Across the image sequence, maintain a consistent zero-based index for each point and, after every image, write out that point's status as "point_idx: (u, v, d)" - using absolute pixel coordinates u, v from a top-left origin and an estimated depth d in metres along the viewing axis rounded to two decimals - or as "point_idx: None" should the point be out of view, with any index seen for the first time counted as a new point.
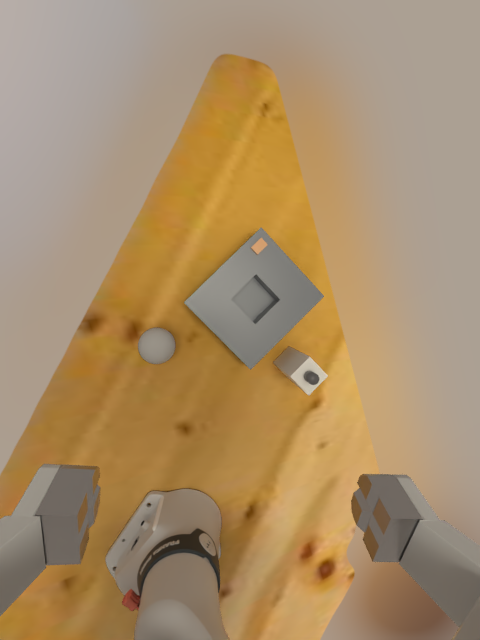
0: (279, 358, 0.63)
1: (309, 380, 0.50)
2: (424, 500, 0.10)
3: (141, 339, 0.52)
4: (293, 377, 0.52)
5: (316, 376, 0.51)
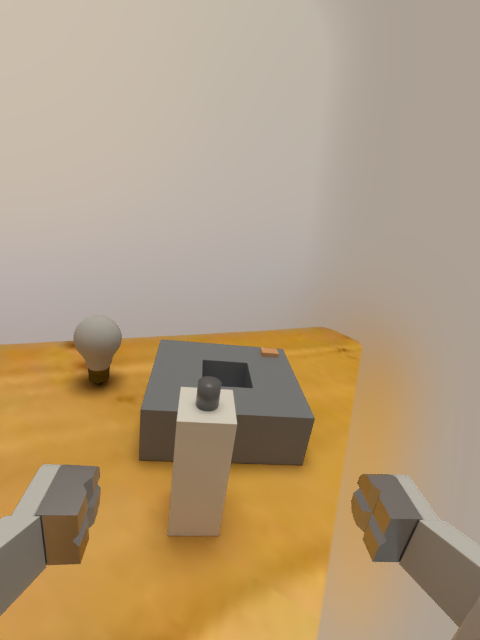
0: None
1: (202, 379, 0.26)
2: (424, 500, 0.10)
3: None
4: (183, 390, 0.27)
5: (217, 383, 0.25)
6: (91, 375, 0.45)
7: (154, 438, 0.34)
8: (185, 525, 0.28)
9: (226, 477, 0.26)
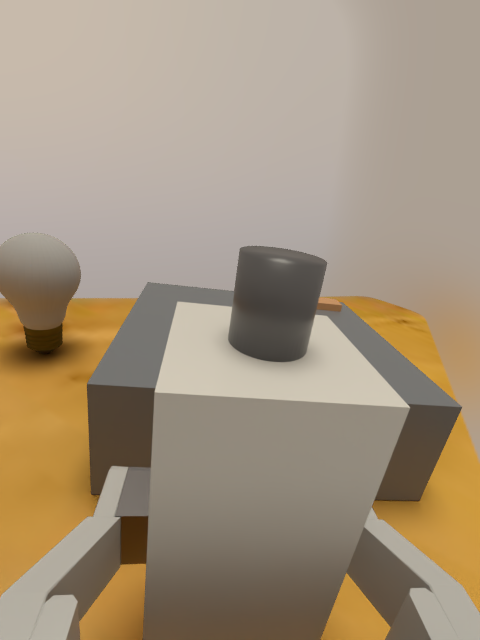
0: None
1: (253, 248, 0.07)
2: None
3: None
4: (186, 309, 0.09)
5: (311, 258, 0.07)
6: (29, 338, 0.27)
7: (121, 448, 0.16)
8: None
9: (331, 593, 0.08)
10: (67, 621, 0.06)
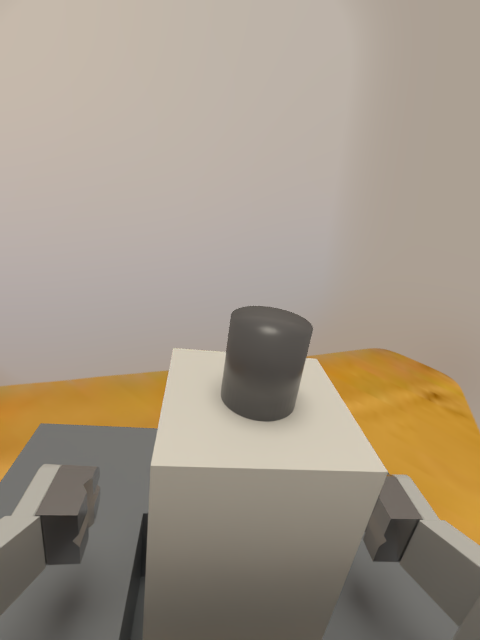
0: None
1: (243, 312, 0.07)
2: (424, 500, 0.10)
3: None
4: (181, 357, 0.09)
5: (298, 323, 0.07)
6: None
7: None
8: None
9: (318, 631, 0.08)
10: None
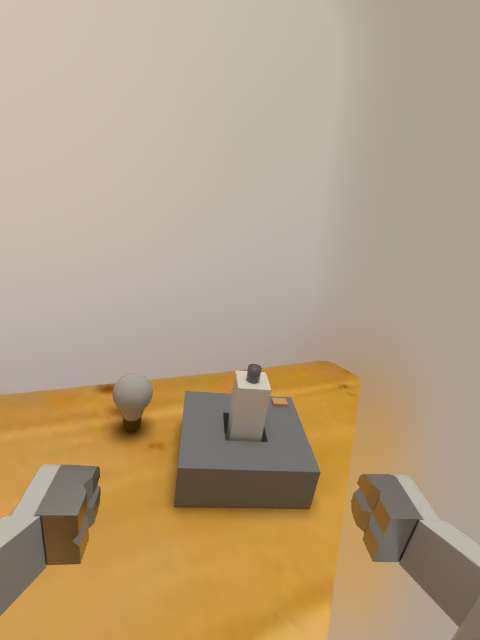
0: None
1: (250, 365, 0.45)
2: (424, 500, 0.10)
3: None
4: (237, 372, 0.47)
5: (259, 367, 0.45)
6: (126, 424, 0.52)
7: (187, 489, 0.41)
8: None
9: (263, 422, 0.46)
10: None
